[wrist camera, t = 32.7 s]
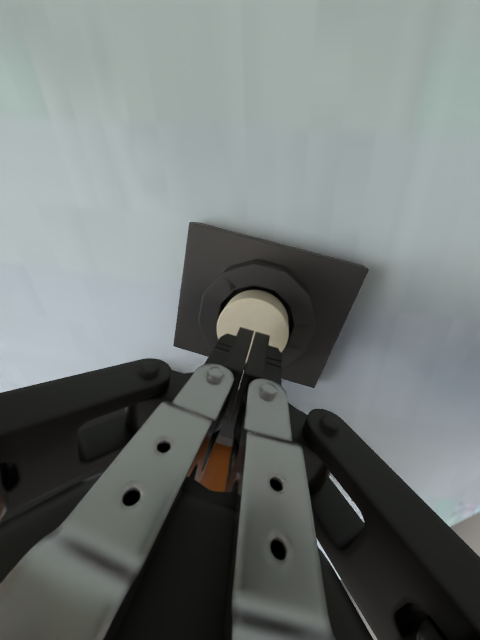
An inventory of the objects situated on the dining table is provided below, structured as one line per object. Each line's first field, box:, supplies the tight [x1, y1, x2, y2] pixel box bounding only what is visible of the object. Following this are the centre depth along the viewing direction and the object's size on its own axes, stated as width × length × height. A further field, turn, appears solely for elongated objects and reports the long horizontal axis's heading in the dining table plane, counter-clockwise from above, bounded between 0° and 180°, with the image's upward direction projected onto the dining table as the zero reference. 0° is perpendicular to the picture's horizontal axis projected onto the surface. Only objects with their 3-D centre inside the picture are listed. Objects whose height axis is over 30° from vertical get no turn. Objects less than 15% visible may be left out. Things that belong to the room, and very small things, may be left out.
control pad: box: [174, 222, 369, 388], centre depth 16 cm, size 11×9×3 cm
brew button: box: [217, 290, 289, 363], centre depth 14 cm, size 4×4×2 cm
